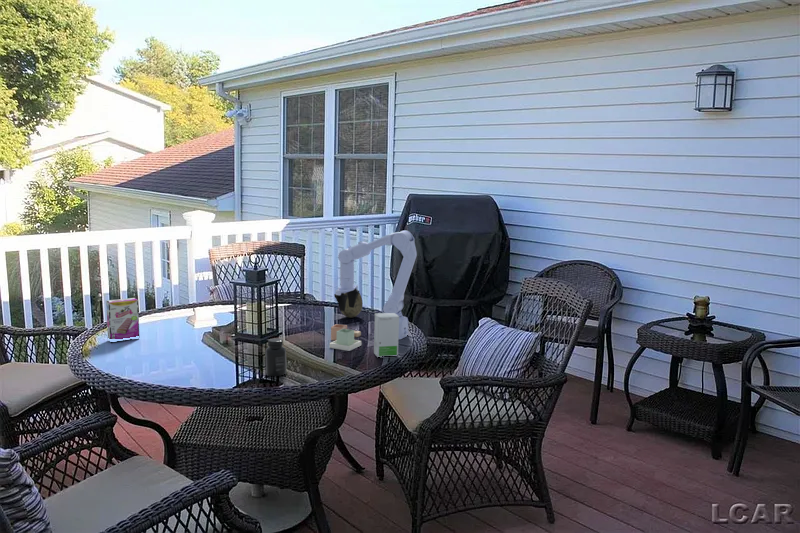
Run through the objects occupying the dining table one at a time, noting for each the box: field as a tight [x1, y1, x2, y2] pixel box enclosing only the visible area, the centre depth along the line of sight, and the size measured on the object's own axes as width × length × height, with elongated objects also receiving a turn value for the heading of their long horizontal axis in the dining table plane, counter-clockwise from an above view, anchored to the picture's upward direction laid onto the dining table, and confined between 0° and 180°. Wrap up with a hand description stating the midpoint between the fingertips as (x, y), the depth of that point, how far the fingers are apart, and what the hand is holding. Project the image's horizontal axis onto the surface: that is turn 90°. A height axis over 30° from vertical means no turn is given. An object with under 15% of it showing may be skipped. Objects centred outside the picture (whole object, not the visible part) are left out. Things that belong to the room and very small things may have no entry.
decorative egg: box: [340, 292, 364, 319], centre depth 302 cm, size 11×11×15 cm
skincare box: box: [373, 312, 400, 358], centre depth 244 cm, size 8×7×16 cm
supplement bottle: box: [265, 337, 287, 377], centre depth 221 cm, size 7×7×12 cm
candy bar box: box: [105, 297, 140, 339], centre depth 259 cm, size 11×5×16 cm, turn 126°
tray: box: [329, 339, 362, 352], centre depth 256 cm, size 9×9×2 cm
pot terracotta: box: [330, 323, 348, 341], centre depth 266 cm, size 5×5×6 cm
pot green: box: [337, 328, 355, 346], centre depth 255 cm, size 5×5×6 cm
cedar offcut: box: [354, 330, 362, 338], centre depth 272 cm, size 6×3×2 cm, turn 63°
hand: (347, 309), depth 276 cm, fingers open, 7 cm apart
